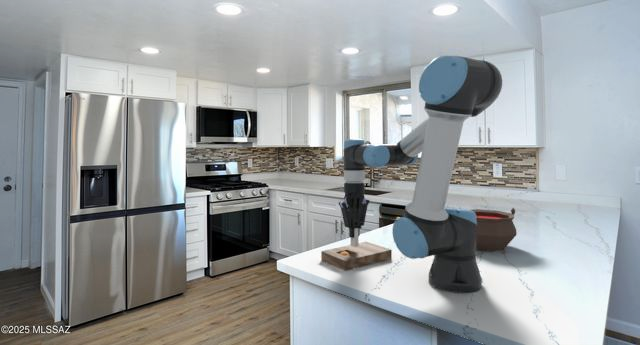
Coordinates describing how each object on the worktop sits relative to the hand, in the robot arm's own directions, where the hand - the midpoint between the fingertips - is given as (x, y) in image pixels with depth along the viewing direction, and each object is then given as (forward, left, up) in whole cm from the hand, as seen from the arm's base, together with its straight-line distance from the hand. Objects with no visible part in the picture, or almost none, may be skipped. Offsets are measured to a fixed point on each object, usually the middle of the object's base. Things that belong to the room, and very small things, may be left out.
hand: (354, 245), depth 131 cm
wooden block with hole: (0, -1, -5) cm, 5 cm away
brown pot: (-18, -55, -6) cm, 59 cm away
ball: (0, +5, -4) cm, 6 cm away
